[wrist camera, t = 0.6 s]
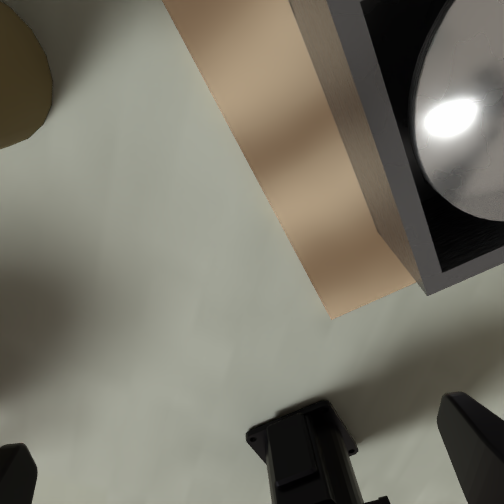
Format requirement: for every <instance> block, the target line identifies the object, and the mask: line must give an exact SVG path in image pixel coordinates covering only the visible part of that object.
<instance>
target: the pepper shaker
mask: <svg viewBox="0 0 504 504" xmlns="http://www.w3.org/2000/svg"><path fill="white" fill-rule="evenodd" d="M52 86H53V80H52V77H51V73H50V69H49V65H48V61H47V57H46V55H45V53H44V51H43V49H42V48H41V46H40V44H39V42H38V41H37V39H36V37H35V35H34V34H33V32H32V30H31V29H30V28H29V27H28V26H27V25H26V24H25V23H24V22H23V21H22V19H21V18H20V17H19V16H18V15H17V14H16V13H15V12H14V11H13V10H12V9H11V8H10V7H9V6H7V5H6V4H4V3H2V2H1V1H0V149H2V148H5V147H8V146H11V145H13V144H16V143H18V142H21V141H23V140H26V139H28V138H29V137H30V136H31V135H32V134H34V133H35V132H36V131H37V130H38V129H39V128H40V127H41V126H42V125H43V123H44V121H45V119H46V116H47V114H48V112H49V109H50V107H51V105H52Z"/></svg>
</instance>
